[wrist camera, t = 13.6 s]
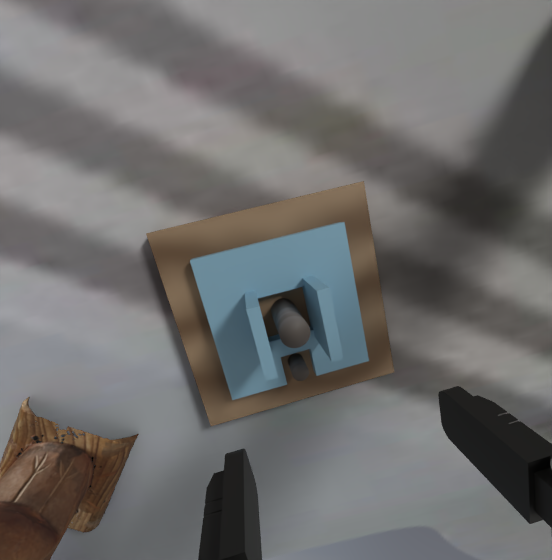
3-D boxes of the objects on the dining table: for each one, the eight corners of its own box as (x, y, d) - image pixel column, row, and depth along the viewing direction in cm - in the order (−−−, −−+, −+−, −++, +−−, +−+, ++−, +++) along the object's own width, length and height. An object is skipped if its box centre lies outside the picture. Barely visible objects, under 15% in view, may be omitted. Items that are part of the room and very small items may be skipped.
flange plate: (191, 258, 26) (178, 270, 20) (339, 222, 27) (368, 222, 21) (232, 393, 29) (231, 437, 23) (364, 355, 30) (395, 388, 24)
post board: (151, 232, 27) (118, 237, 19) (357, 183, 28) (399, 170, 21) (212, 416, 31) (204, 476, 24) (387, 365, 33) (430, 407, 25)
